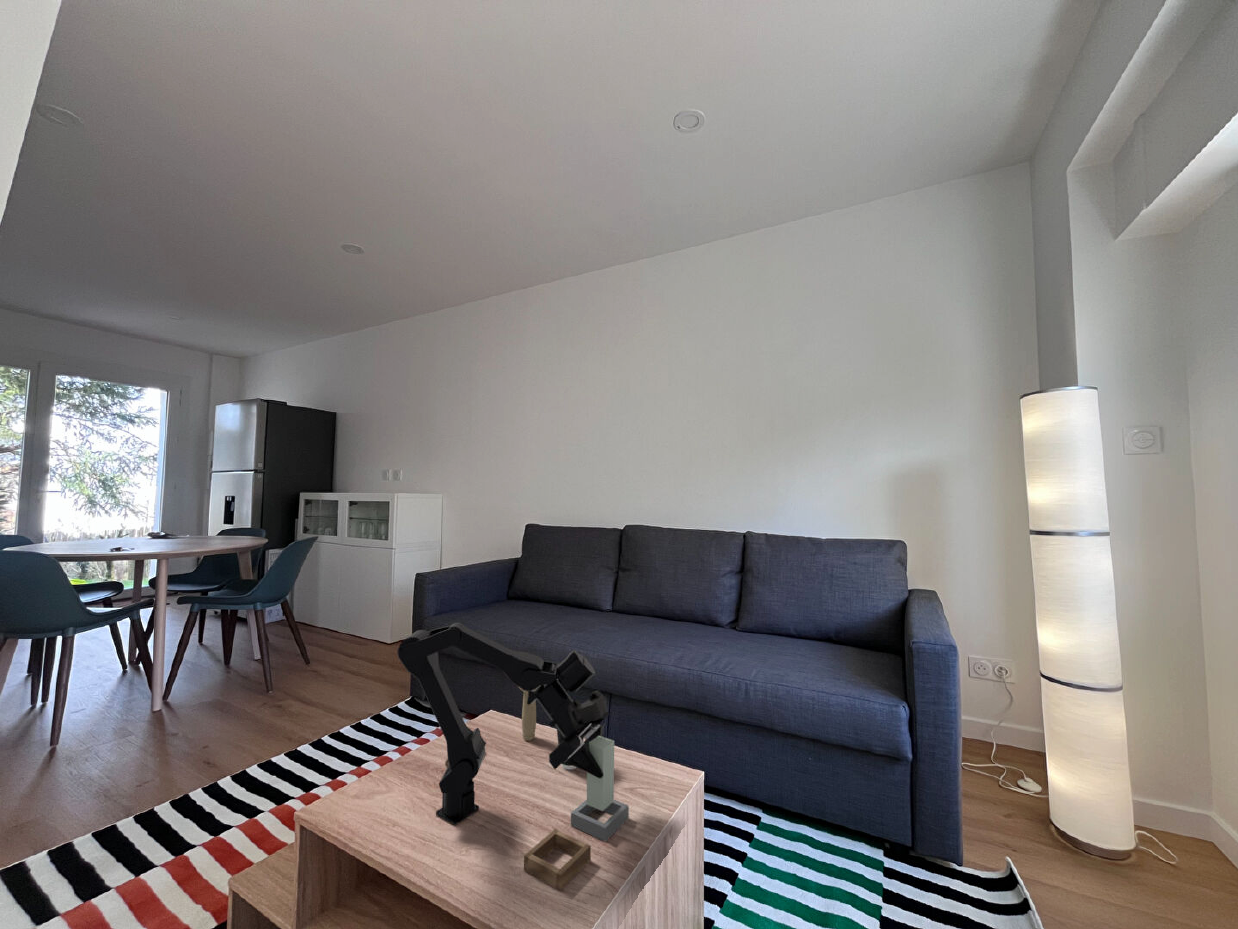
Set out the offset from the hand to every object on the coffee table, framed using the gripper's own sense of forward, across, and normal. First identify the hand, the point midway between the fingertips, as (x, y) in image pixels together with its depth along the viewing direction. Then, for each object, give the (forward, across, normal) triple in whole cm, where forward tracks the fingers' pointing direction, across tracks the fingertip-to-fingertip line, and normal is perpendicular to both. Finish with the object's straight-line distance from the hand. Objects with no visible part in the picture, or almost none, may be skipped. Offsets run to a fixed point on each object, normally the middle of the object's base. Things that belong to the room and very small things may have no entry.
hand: (606, 770), depth 100 cm
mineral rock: (-23, +10, +39) cm, 46 cm away
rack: (+5, -14, +10) cm, 18 cm away
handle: (-16, +25, +31) cm, 44 cm away
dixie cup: (-5, +18, +20) cm, 27 cm away
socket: (+6, 0, +8) cm, 10 cm away
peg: (+4, 0, +6) cm, 7 cm away
